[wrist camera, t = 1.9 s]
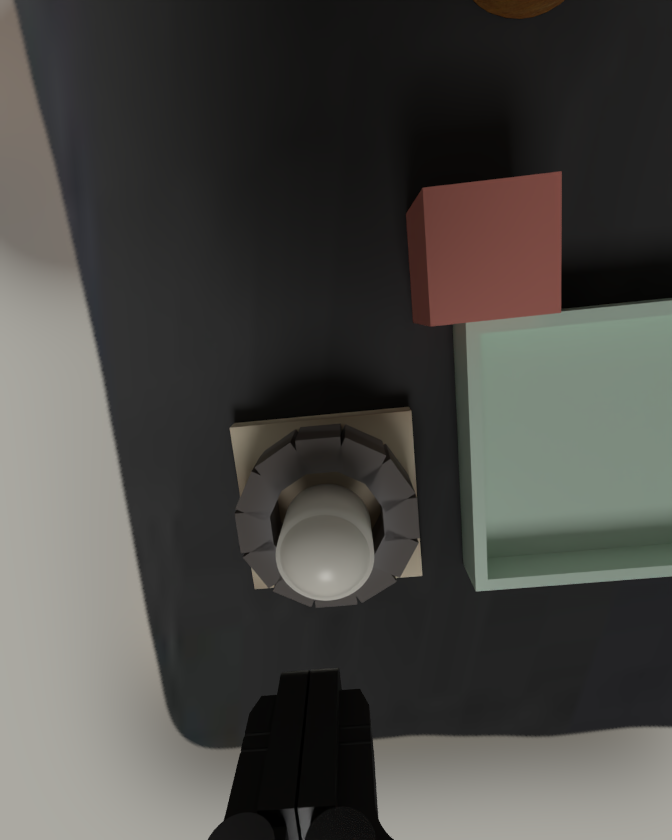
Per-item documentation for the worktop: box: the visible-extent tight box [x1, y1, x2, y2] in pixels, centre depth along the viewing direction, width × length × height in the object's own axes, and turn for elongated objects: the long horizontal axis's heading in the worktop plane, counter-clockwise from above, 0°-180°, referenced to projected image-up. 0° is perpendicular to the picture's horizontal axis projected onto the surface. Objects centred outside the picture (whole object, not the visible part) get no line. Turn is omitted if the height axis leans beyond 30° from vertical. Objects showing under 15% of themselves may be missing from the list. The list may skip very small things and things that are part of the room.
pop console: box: [230, 407, 422, 608], centre depth 24 cm, size 9×9×4 cm
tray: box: [453, 298, 672, 591], centre depth 23 cm, size 13×13×3 cm
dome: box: [276, 484, 374, 601], centre depth 20 cm, size 4×4×4 cm
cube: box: [406, 171, 562, 326], centre depth 20 cm, size 5×5×5 cm
